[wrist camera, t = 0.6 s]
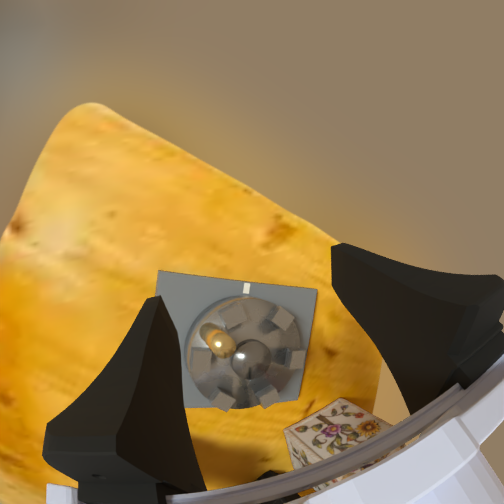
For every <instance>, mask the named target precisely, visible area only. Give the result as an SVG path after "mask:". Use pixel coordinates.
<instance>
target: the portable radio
mask: <svg viewBox="0 0 504 504" xmlns="http://www.w3.org/2000/svg"><path fill="white" fill-rule="evenodd" d="M277 475H280V474H277V473H275V472H273V471H268V472H266V473H264V474H263V475H262V476H261V477H259V478H258V479H257V480H256V481H259V480H263V479H267V478H270V477H274V476H277ZM299 498H301V497H300V496H299V495H298V493H295V494H292V495H288V496H285V497H282V498H278V499H275V500H271V501H267V502H263V503H259V504H284V503H287V502H290V501H293V500H296V499H299Z"/></svg>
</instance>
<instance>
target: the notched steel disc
mask: <svg viewBox="0 0 504 504" xmlns="http://www.w3.org/2000/svg"><path fill="white" fill-rule="evenodd" d="M294 318H295V317H294V316H292V315H291V314H290V313H289V312H287V311H286V310H285V309H284V308H282V307H281V306H278V305H275V304H273V303H271V302H268V301H265V300H262V299H259V298H256V297H253V296H247V295H237V296H230V297H226V298H223V299H221V300H218V301H216V302H214V303H213V304H211V305H209V306H208V307H207V308H205V309H204V310H203V311H202V312H201V313H200V314H199V315H198V316H197V318H196V319H195V320H194V322H193V323H192V325H191V326H190V328H189V331H188V333H187V336H186V339H185V344H184V360H185V364H186V368H187V370H188V372H189V375H190V376H191V378H192V380H193V382H194V384H195V386H196V387H197V389H198V390H199V392H200V393H201V394H202V395H203V396H204V397H205V398H207V399H208V401H209V403H210V404H211V405H213V406H215V407H217V408H219V409H221V410H223V411H226V412H227V411H228V410H229V409H230V408H232V409H244V408H250V407H254V406H257V405H259V404H260V405H261V406H262V407H263V408H264V409H265V408H267V407H269V406H270V405H272V404H274V403H275V402H277V401H279V400H280V397H279V395H278V393H279V392H280V391H281V390H282V389H283V388H284V387H285V385H286V384H287V383H288V382H289V380H290V379H291V377H292V375H293V373H294V371H295V369H301V368H303V364H304V358H305V353H306V351H305V350H304V349H302V348H300V338H299V333H298V330H297V327H296V325H295V323H294V321H293V319H294Z"/></svg>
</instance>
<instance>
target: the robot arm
mask: <svg viewBox="0 0 504 504" xmlns="http://www.w3.org/2000/svg"><path fill="white" fill-rule="evenodd" d="M331 270H332V287H333V288H334V290H335V292H336V294H337V295H338V297H339V299H340V300H341V302H342V303H343V305H344V306H345V307H346V308H347V310H348V311H349V312H350V313H351V315H352V316H353V317H354V318H355V319H356V321H357V322H358V323H359V324H360V326H361V327H362V328H363V329H364V331H365V332H366V333H367V334H368V336H369V337H370V338H371V340H372V341H373V342H374V344H375V345H376V347H377V349H378V350H379V352H380V353H381V355H382V357H383V358H384V360H385V362H386V363H387V366H388V367H389V369H390V371H391V373H392V375H393V377H394V379H395V381H396V383H397V385H398V387H399V389H400V391H401V393H402V396H403V398H404V400H405V403H406V405H407V408H408V410H409V413H410V416H409V417H408V418H406V419H404V420H403V421H401V422H399V423H398V424H396V425H394V426H392V427H391V428H389V429H387V430H385V431H383V432H382V433H380V434H378V435H376V436H374V437H372V438H370V439H368V440H366V441H364V442H362V443H360V444H358V445H356V446H354V447H352V448H349V449H347V450H345V451H343V452H340V453H338V454H336V455H333V456H331V457H329V458H326V459H324V460H321V461H318V462H316V463H313V464H310V465H308V466H305V467H302V468H299V469H296V470H293V471H290V472H287V473H284V474H280V475H277V476H274V477H270V478H267V479H263V480H259V481H255V482H251V483H247V484H242V485H238V486H233V487H228V488H222V489H217V490H210V491H207V489H206V486H205V483H204V480H203V477H202V474H201V471H200V468H199V465H198V462H197V458H196V455H195V452H194V448H193V444H192V440H191V436H190V432H189V428H188V423H187V418H186V413H185V408H184V400H183V385H182V365H181V350H180V343H179V338H178V332H177V329H176V327H175V325H174V323H173V321H172V319H171V317H170V314H169V312H168V310H167V308H166V306H165V303H164V301H163V299H162V297H161V295H159V296H155V297H151V298H148V299H146V301H145V303H144V304H143V306H142V308H141V310H140V312H139V314H138V315H137V317H136V319H135V321H134V323H133V324H132V326H131V328H130V330H129V332H128V333H127V335H126V336H125V338H124V340H123V341H122V343H121V345H120V346H119V348H118V349H117V351H116V353H115V354H114V355H113V357H112V358H111V360H110V361H109V362H108V364H107V365H106V366H105V368H104V369H103V370H102V372H101V373H100V374H99V375H98V376H97V378H96V379H95V380H94V381H93V382H92V383H91V384H90V386H89V387H88V388H87V389H86V390H85V391H84V392H83V393H82V394H81V395H80V396H79V397H78V398H77V399H76V400H75V401H74V402H73V403H72V404H71V405H70V406H68V407H67V408H66V409H65V410H64V411H62V412H61V413H60V414H59V415H57V416H56V417H55V418H54V419H52V420H51V421H50V422H48V423H47V426H46V432H45V438H44V445H43V452H42V456H43V458H44V460H45V461H46V462H47V463H48V464H49V465H50V466H52V467H53V468H55V469H56V470H58V471H60V472H61V473H63V474H65V475H67V476H68V477H70V478H72V479H74V480H76V481H78V489H77V488H74V487H70V486H64V485H58V484H52V483H48V484H47V497H46V504H259V503H263V502H267V501H271V500H275V499H278V498H282V497H285V496H288V495H292V494H295V493H298V492H301V491H304V490H307V489H310V488H313V487H315V486H318V485H321V484H323V483H326V482H328V481H331V480H333V479H336V478H338V477H340V476H343V475H345V474H347V473H350V472H352V471H354V470H356V469H358V468H360V467H362V466H364V465H366V464H368V463H370V462H372V461H374V460H376V459H378V458H380V457H382V456H384V455H385V454H387V453H389V452H391V451H393V450H394V449H396V448H398V447H399V446H401V445H403V444H404V443H406V442H407V441H409V440H411V439H412V438H414V437H415V436H417V435H419V434H420V433H421V434H420V436H419V438H418V439H417V440H415V441H414V442H412V443H411V444H409V445H408V446H406V447H404V448H403V449H401V450H399V451H397V452H396V453H394V454H392V455H391V456H389V457H387V458H385V459H383V460H382V461H380V462H378V463H376V464H374V465H372V466H370V467H368V468H366V469H364V470H362V471H360V472H358V473H356V474H354V475H351V476H349V477H347V478H345V479H343V480H341V481H339V482H336V483H334V484H332V485H330V486H327V487H325V488H323V489H322V490H319V491H317V492H314V493H312V494H309V495H307V496H304V497H301V498H299V499H296V500H293V501H290V502H287V503H284V504H504V486H503V485H502V483H501V482H500V480H499V478H498V477H497V475H496V474H495V472H494V471H493V469H492V468H491V466H490V465H489V463H488V462H487V460H486V459H485V457H484V456H483V454H482V453H481V451H480V450H479V448H480V444H481V443H482V442H483V441H484V440H485V439H486V438H487V437H488V436H489V435H490V434H491V433H492V432H493V431H494V430H495V429H496V428H497V426H498V425H499V424H500V423H501V422H502V421H503V420H504V333H503V332H502V331H501V330H502V329H503V325H502V324H501V323H500V322H499V319H500V317H501V315H502V313H503V310H504V280H503V279H502V278H500V277H499V276H497V275H463V274H451V273H444V272H438V271H432V270H427V269H423V268H419V267H415V266H411V265H407V264H404V263H401V262H398V261H395V260H392V259H389V258H386V257H383V256H380V255H377V254H375V253H372V252H369V251H366V250H364V249H361V248H358V247H355V246H353V245H349V244H346V243H341V244H338V245H334V246H331Z"/></svg>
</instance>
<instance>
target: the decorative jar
mask: <svg viewBox="0 0 504 504" xmlns="http://www.w3.org/2000/svg"><path fill="white" fill-rule="evenodd" d="M392 426H393V425H391V424H389V423H387V422H385V421H384V420H382V419H380V418H378V417H376V416H374V415H373V414H371V413H369V412H367V411H365V410H364V409H362V408H360V407H358V406H357V405H355V404H353V403H351V402H349V401H347V400H345V399H343V398H338V399H337V400H335V401H333V402H332V403H330V404H329V405H327V406H326V407H324V408H322V409H321V410H319V411H317V412H315V413H314V414H312V415H310V416H308V417H306V418H305V419H303V420H301V421H299V422H298V423H296V424H293V425H291V426H289V427H287V428H285V429H284V430H283V431H284V434H285V437H286V442H287V446H288V450H289V454H290V458H291V461H292V464H293V468H294V470H296V469H299V468H302V467H305V466H308V465H310V464H313V463H316V462H318V461H321V460H324V459H326V458H329V457H331V456H333V455H336V454H338V453H340V452H343V451H345V450H347V449H349V448H352V447H354V446H356V445H358V444H360V443H362V442H364V441H366V440H368V439H370V438H372V437H374V436H376V435H378V434H380V433H382V432H383V431H385V430H387V429H389V428H391V427H392ZM404 447H406V445H405V443H404V444H403V445H401V446H399V447H398V448H396V449H394V450H393V451H391V452H389V453H387V454H385V455H384V456H382V457H380V458H378V459H376V460H374V461H372V462H370V463H368V464H366V465H364V466H362V467H360V468H358V469H356V470H354V471H352V472H350V473H347V474H345V475H343V476H340V477H338V478H336V479H333V480H331V481H328V482H326V483H323V484H321V485H318V486H315V487H313V489H314V490H316V491H319V490H322V489H323V488H325V487H327V486H330V485H332V484H334V483H336V482H339V481H341V480H343V479H345V478H347V477H349V476H351V475H354V474H356V473H358V472H360V471H362V470H364V469H366V468H368V467H370V466H372V465H374V464H376V463H378V462H380V461H382V460H383V459H385V458H387V457H389V456H391V455H392V454H394V453H396V452H397V451H399V450H401V449H403V448H404Z"/></svg>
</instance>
